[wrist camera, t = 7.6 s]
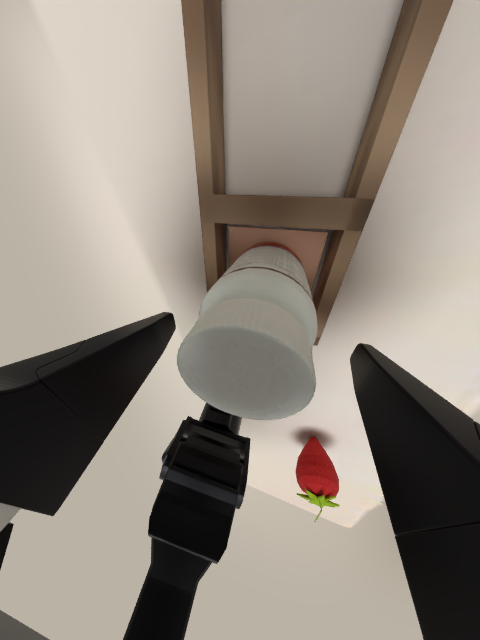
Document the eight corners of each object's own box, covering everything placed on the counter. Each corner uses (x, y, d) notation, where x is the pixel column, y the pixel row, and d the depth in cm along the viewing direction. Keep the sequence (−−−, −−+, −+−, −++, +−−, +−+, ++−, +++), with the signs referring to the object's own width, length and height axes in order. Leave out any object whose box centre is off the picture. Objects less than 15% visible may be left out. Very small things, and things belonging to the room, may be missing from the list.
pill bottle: (270, 317, 18) (253, 439, 8) (222, 280, 16) (143, 374, 7) (320, 273, 14) (382, 399, 5) (264, 221, 13) (212, 264, 4)
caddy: (313, 329, 18) (317, 345, 16) (218, 314, 19) (210, 327, 17) (475, -130, 6) (572, -301, 4) (198, -62, 8) (167, -156, 6)
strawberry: (295, 444, 32) (298, 523, 24) (293, 423, 29) (295, 509, 21) (329, 449, 31) (344, 536, 23) (332, 428, 27) (351, 524, 19)
